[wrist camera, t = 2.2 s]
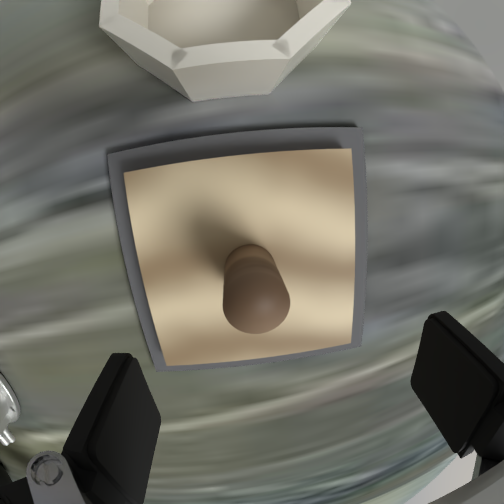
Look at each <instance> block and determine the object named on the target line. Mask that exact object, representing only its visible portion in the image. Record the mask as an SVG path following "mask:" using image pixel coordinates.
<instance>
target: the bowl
mask: <svg viewBox="0 0 504 504" xmlns="http://www.w3.org/2000/svg"><path fill="white" fill-rule="evenodd" d="M350 5H351V1H350V0H101V8H100V19H99V27H100V28H101V29H102V30H103V31H104V32H105V33H106V34H107V35H108V36H109V37H110V38H111V39H112V40H113V41H114V42H115V43H116V44H117V45H118V46H119V47H120V48H122V49H123V50H124V51H125V52H126V53H127V54H128V55H129V56H130V57H131V58H132V60H133V61H134V62H135V63H136V64H137V65H138V66H140V67H142V68H143V69H145V70H146V71H148V72H149V73H151V74H153V75H154V76H156V77H157V78H159V79H160V80H162V81H163V82H165V83H166V84H168V85H169V86H170V87H172V88H173V89H175V90H176V91H178V92H179V93H181V94H182V95H184V96H185V97H186V98H188V99H189V100H191V101H192V102H196V101H203V100H211V99H219V98H228V97H238V96H250V95H265V94H270V93H271V92H272V91H273V90H274V89H275V88H276V87H277V86H278V85H279V84H280V83H281V81H282V80H283V79H284V78H285V77H286V76H287V75H288V74H289V73H290V72H291V71H292V70H293V69H294V68H295V67H296V66H297V65H298V64H299V63H300V62H301V61H302V60H303V59H304V58H305V57H306V56H307V55H308V54H309V53H310V52H311V51H312V50H313V49H314V48H315V47H316V46H317V45H318V43H319V42H320V41H321V40H322V38H323V37H324V36H325V35H326V33H327V32H328V31H329V30H330V28H331V27H332V26H333V25H334V24H335V22H336V21H337V20H338V19H339V18H340V16H341V15H342V14H343V13H344V12H345V10H346V9H347V8H348V7H349V6H350Z"/></svg>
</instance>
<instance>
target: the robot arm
mask: <svg viewBox="0 0 504 504" xmlns="http://www.w3.org/2000/svg"><path fill="white" fill-rule="evenodd" d="M411 386H412V389H413V390H414V392H415V393H416V395H417V396H418V398H419V399H420V401H421V402H422V404H423V405H424V407H425V408H426V410H427V411H428V413H429V414H430V416H431V418H432V419H433V421H434V422H435V424H436V425H437V427H438V429H439V430H440V432H441V433H442V435H443V437H444V438H445V440H446V441H447V443H448V445H449V446H450V448H451V450H452V451H453V452H454V453H458V455H459V456H460V458H463V457H465V456H467V455H468V454H470V453H472V452H473V451H474V449H475V451H476V453H477V457H476V463H475V467H474V472H473V477H472V481H470V482H469V483H467V484H465V485H464V486H462V487H460V488H458V489H456V490H454V491H452V492H451V493H449V494H447V495H445V496H443V497H441V498H439V499H437V500H435V501H433V502H431V503H428V504H504V363H503V362H501V361H500V360H499V359H498V358H497V357H496V356H495V355H494V354H493V353H492V352H491V351H490V350H489V349H488V348H487V347H486V346H485V345H483V344H482V343H481V342H480V341H479V340H478V339H477V338H476V337H475V336H474V335H472V334H471V333H470V332H469V331H468V330H467V329H466V328H465V327H464V326H462V325H461V324H460V323H459V322H458V321H457V320H455V319H454V318H453V317H452V316H451V315H450V314H449V313H447V312H446V311H441V312H437V313H434V314H431V315H429V317H428V319H427V320H426V321H425V323H424V327H423V332H422V337H421V341H420V345H419V350H418V354H417V358H416V362H415V365H414V369H413V373H412V376H411ZM20 412H21V411H20V406H19V403H18V400H17V398H16V396H15V394H14V392H13V390H12V389H11V387H10V385H9V384H8V382H7V381H6V380H5V378H4V377H3V376H2V374H1V373H0V442H1V443H2V444H3V445H8V444H9V443H13V442H14V441H15V437H14V435H13V434H12V433H11V431H9V429H8V424H9V422H15V421H16V420H17V419H18V417H19V416H20ZM160 425H161V416H160V413H159V411H158V409H157V406H156V404H155V402H154V399H153V397H152V395H151V392H150V390H149V388H148V385H147V383H146V380H145V378H144V375H143V373H142V370H141V367H140V365H139V362H138V360H137V359H136V358H133V357H132V355H131V354H130V353H113V354H112V355H111V356H110V358H109V359H108V361H107V363H106V365H105V367H104V368H103V370H102V372H101V374H100V376H99V377H98V379H97V381H96V383H95V385H94V387H93V389H92V391H91V392H90V394H89V396H88V398H87V400H86V402H85V404H84V406H83V408H82V410H81V412H80V414H79V416H78V418H77V420H76V422H75V424H74V426H73V428H72V430H71V432H70V434H69V436H68V438H67V440H66V442H65V445H64V447H63V451H62V453H61V454H60V453H57V452H55V451H44V452H40V453H38V454H36V455H35V456H34V457H33V458H32V459H31V460H30V462H29V463H28V465H27V469H26V475H27V477H25V478H22V479H20V480H17V481H15V482H12V483H10V484H7V485H4V486H2V487H0V504H143V502H144V498H145V493H146V488H147V484H148V479H149V474H150V469H151V465H152V460H153V455H154V451H155V446H156V442H157V438H158V433H159V429H160Z"/></svg>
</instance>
